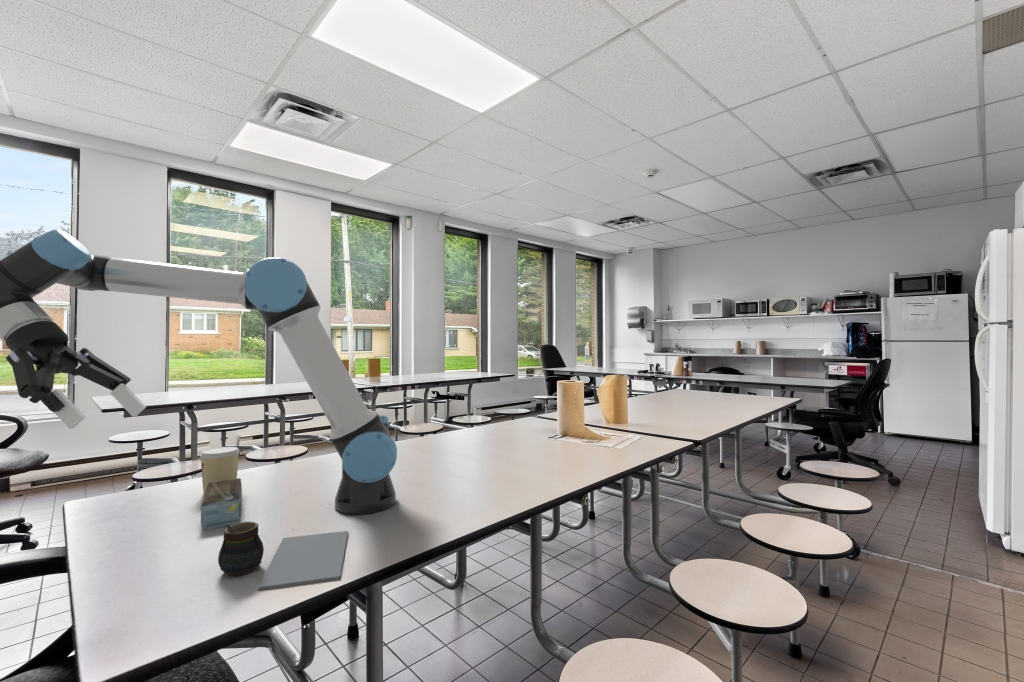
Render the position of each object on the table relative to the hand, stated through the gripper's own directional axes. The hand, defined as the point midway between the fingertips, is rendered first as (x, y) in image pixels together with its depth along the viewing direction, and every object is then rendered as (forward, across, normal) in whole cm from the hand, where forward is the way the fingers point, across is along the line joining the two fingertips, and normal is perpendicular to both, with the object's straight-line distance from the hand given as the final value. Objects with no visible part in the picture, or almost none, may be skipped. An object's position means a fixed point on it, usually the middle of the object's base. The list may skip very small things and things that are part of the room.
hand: (111, 417), depth 83 cm
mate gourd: (+37, 0, -2) cm, 37 cm away
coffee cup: (+16, -46, -24) cm, 54 cm away
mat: (+44, -4, +6) cm, 45 cm away
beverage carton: (+24, -29, -17) cm, 41 cm away
